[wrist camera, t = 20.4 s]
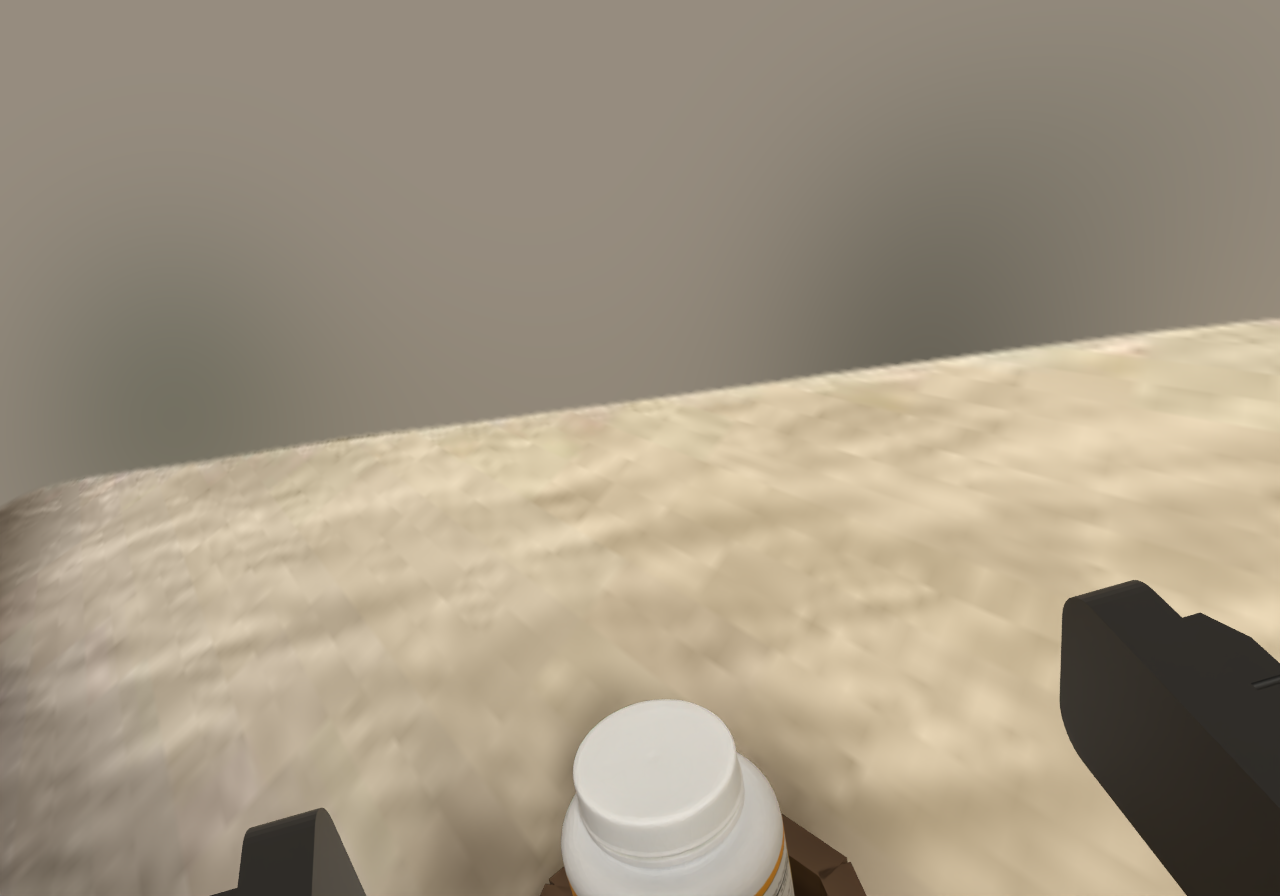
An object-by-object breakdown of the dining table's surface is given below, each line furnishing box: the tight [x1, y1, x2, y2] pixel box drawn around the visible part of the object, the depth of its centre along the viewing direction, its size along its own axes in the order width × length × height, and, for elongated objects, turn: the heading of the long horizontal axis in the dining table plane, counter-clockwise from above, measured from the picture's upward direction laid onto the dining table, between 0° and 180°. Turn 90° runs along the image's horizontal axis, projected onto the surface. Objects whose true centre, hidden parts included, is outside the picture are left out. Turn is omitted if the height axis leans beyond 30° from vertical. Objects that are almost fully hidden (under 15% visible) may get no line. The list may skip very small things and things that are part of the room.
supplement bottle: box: [561, 699, 795, 896], centre depth 29 cm, size 6×6×10 cm
